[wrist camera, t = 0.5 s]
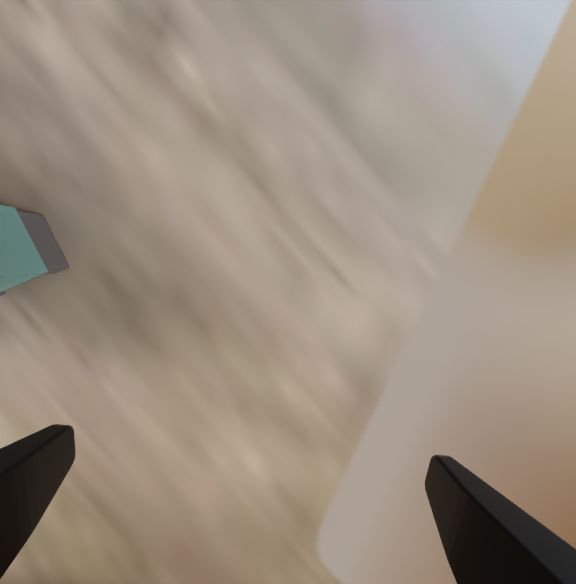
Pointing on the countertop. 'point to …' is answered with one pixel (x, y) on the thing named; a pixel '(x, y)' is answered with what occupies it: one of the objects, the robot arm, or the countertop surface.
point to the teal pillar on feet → (26, 248)
